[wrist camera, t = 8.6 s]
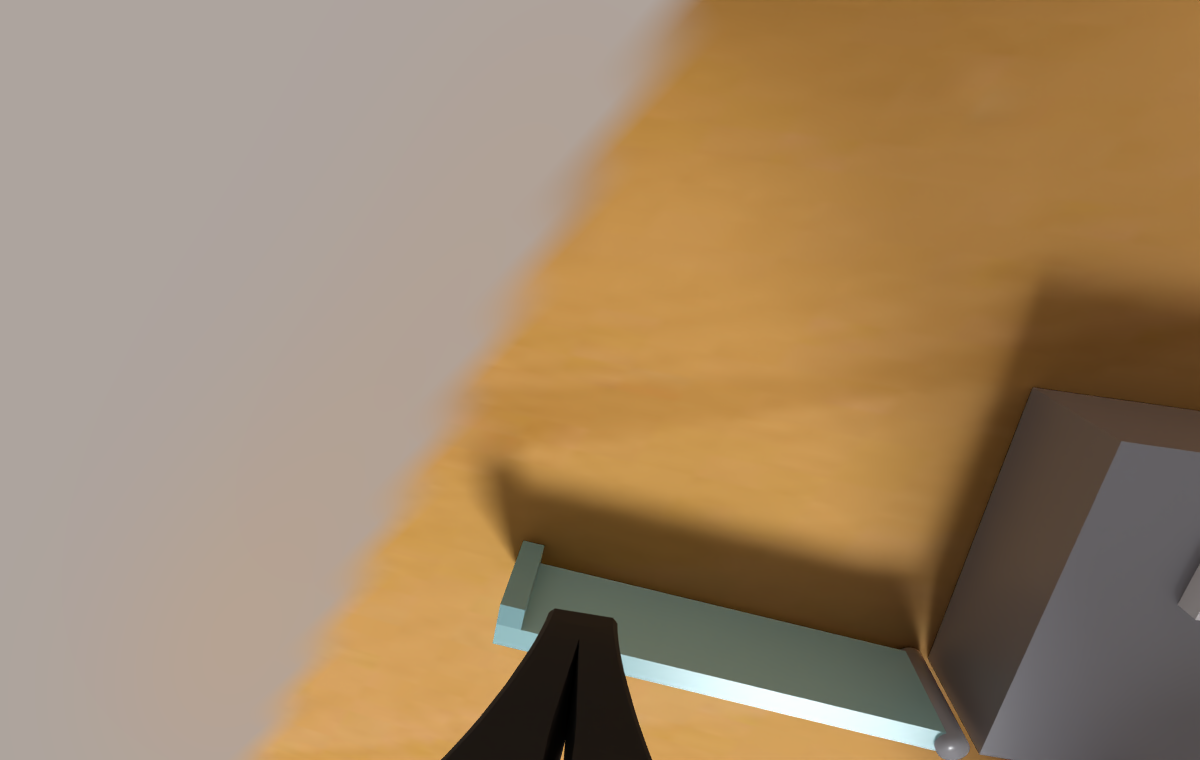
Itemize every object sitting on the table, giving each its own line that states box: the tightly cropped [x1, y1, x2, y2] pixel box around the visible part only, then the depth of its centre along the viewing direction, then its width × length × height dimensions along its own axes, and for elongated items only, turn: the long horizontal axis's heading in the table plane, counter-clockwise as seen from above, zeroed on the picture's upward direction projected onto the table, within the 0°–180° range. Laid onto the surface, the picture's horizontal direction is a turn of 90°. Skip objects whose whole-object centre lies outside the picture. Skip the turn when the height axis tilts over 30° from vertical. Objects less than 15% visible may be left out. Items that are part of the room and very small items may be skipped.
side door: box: [493, 540, 970, 760], centre depth 21 cm, size 16×2×4 cm, turn 78°
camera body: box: [928, 387, 1200, 760], centre depth 19 cm, size 12×8×5 cm, turn 173°
